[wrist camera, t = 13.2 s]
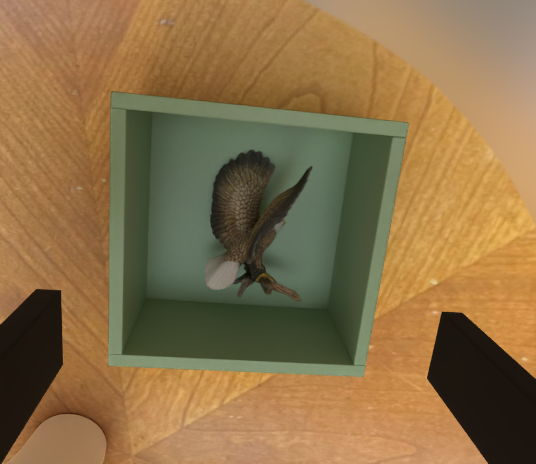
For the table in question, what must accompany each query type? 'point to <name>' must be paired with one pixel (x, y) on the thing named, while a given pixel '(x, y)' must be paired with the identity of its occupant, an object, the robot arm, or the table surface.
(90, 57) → the table surface
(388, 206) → the bin
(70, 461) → the cup
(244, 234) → the eagle figurine
